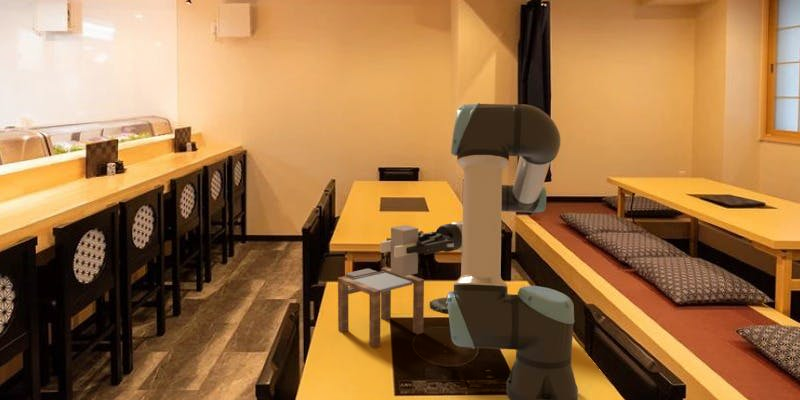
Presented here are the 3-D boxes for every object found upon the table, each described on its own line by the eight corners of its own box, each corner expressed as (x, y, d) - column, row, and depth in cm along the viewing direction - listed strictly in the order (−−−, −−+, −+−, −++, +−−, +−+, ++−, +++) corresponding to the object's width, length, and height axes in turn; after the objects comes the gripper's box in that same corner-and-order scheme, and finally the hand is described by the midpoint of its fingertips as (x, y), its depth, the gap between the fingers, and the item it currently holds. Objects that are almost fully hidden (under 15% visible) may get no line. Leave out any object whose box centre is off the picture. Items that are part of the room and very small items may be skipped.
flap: (412, 286, 169) (412, 280, 169) (377, 294, 162) (377, 288, 161) (373, 272, 182) (373, 267, 182) (339, 280, 174) (339, 274, 174)
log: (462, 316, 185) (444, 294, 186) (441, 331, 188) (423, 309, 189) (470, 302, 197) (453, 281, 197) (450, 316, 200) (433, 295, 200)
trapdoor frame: (423, 332, 172) (424, 279, 169) (374, 348, 161) (374, 292, 158) (386, 316, 184) (386, 267, 181) (338, 330, 173) (337, 277, 170)
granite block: (417, 273, 164) (418, 228, 162) (402, 276, 161) (403, 230, 159) (405, 268, 168) (405, 224, 166) (390, 272, 165) (391, 227, 163)
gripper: (477, 256, 168) (410, 272, 154) (432, 243, 182) (367, 256, 167) (478, 229, 167) (411, 242, 152) (432, 218, 181) (367, 229, 166)
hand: (388, 249), depth 160 cm, fingers closed on granite block, 5 cm apart
